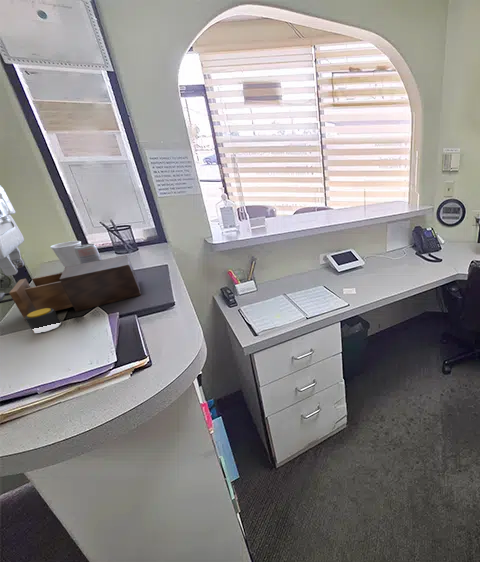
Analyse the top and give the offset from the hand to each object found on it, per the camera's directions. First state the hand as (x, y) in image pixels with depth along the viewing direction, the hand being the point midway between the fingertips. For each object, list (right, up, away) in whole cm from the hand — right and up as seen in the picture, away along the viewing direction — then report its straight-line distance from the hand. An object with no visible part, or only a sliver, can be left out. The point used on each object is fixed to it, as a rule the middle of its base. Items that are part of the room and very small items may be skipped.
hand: (15, 270), depth 69 cm
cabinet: (+2, -7, +22) cm, 23 cm away
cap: (+1, -14, +6) cm, 15 cm away
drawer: (-7, -9, +15) cm, 19 cm away
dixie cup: (-31, +2, +47) cm, 56 cm away
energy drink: (-13, -2, +35) cm, 37 cm away
